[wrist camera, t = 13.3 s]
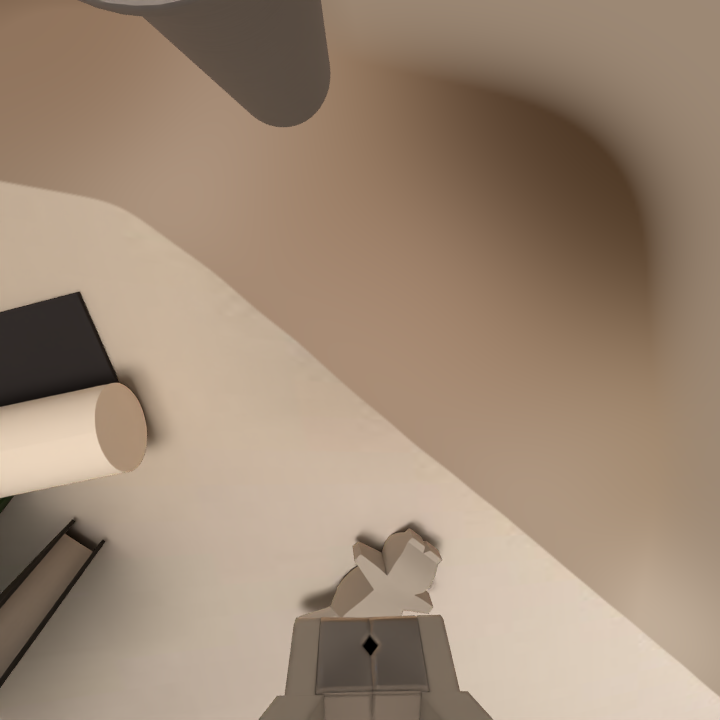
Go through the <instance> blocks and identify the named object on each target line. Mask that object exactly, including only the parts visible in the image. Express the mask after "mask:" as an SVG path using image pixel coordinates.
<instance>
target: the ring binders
mask: <svg viewBox="0 0 720 720" xmlns="http://www.w3.org/2000/svg"><path fill="white" fill-rule="evenodd" d="M13 496H14V495H12V496H8V497H3V498H0V513H1V512H2V510H3V509H4V508H5V507H6V505H7V504H8V503H9V501H10V500H11V499H12V497H13ZM74 522H75V521H74V520H71V522H70V523H69V524H68V525H67V526H66V527H65V528H64V529H63V530H62V531H61V532H60V533H59V534H58V535H57V536H56V537H55V538H54V539H53V540H52V541H51V542H50V543H49V544H48V546H47V547H46V548H45V549H44V550H43V551H42V552H41V553H40V554H39V555H38V556H37V557H36V558H35V559H34V560H33V561H32V562H31V563H30V564H29V565H28V566H27V567H26V568H25V569H24V571H23V572H22V573H21V574H20V575H19V576H18V577H17V578H16V579H15V580H14V581H13V582H12V583H11V584H10V585H9V586H8V587H7V588H6V589H5V590H4V591H3V592H2V593H1V594H0V687H1V686H2V685H3V683H4V682H5V680H6V679H7V678H8V676H9V675H10V674H11V672H12V671H13V669H14V668H15V667H16V665H17V664H18V662H19V661H20V660H21V658H22V657H23V655H24V654H25V653H26V651H27V650H28V648H29V647H30V646H31V644H32V643H33V642H34V640H35V639H36V637H37V636H38V635H39V633H40V632H41V630H42V629H43V628H44V626H45V625H46V623H47V622H48V621H49V619H50V618H51V616H52V615H53V614H54V612H55V611H56V609H57V608H58V607H59V605H60V604H61V603H62V601H63V600H64V598H65V597H66V596H67V594H68V593H69V591H70V590H71V589H72V587H73V586H74V584H75V583H76V582H77V580H78V579H79V577H80V576H81V575H82V573H83V572H84V571H85V569H86V568H87V566H88V565H89V564H90V562H91V561H92V559H93V558H94V557H95V555H96V554H97V552H98V551H99V550H100V548H101V547H102V545H103V544H104V543H105V541H104V540H102V541H101V542H100V543H99V545H98V546H97V547H96V548H95V549H94V550H93V551H91V550H89V549H88V548H86V547H85V546H83V545H81V544H80V543H78V542H77V541H75V540H74V539H72V538H71V537H69V536H67V535H66V534H65V533H66V531H67V530H68V529H69V528H70V527H71V526H72V524H73V523H74Z"/></svg>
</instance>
